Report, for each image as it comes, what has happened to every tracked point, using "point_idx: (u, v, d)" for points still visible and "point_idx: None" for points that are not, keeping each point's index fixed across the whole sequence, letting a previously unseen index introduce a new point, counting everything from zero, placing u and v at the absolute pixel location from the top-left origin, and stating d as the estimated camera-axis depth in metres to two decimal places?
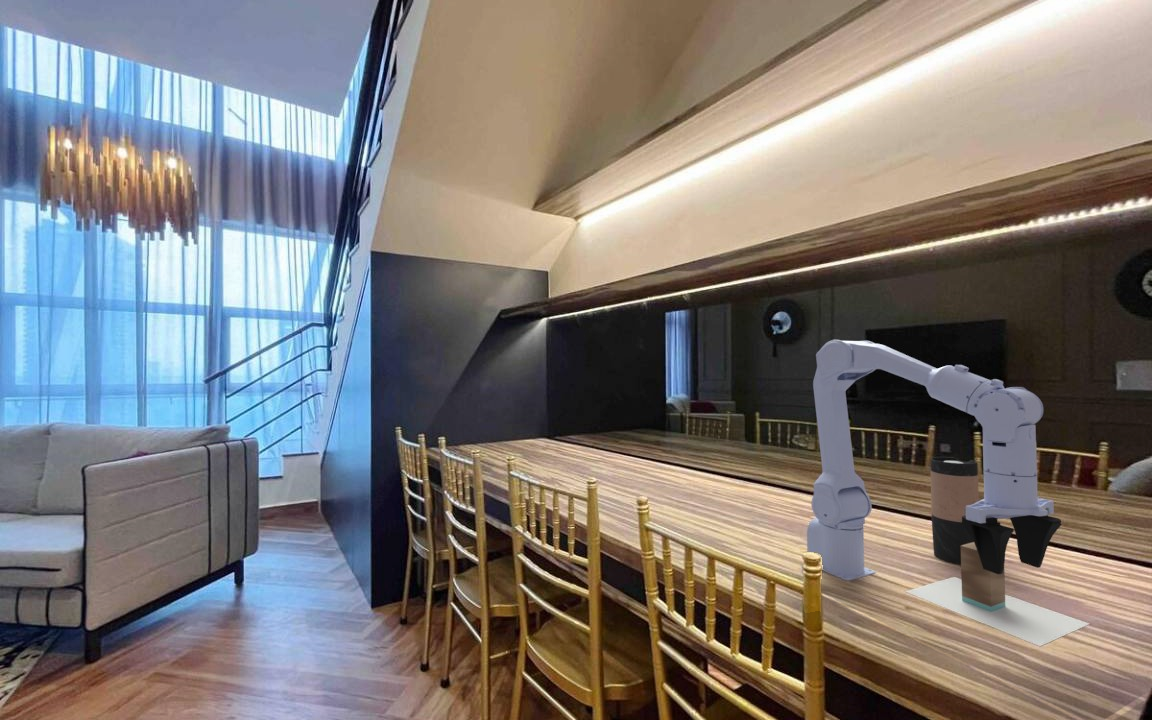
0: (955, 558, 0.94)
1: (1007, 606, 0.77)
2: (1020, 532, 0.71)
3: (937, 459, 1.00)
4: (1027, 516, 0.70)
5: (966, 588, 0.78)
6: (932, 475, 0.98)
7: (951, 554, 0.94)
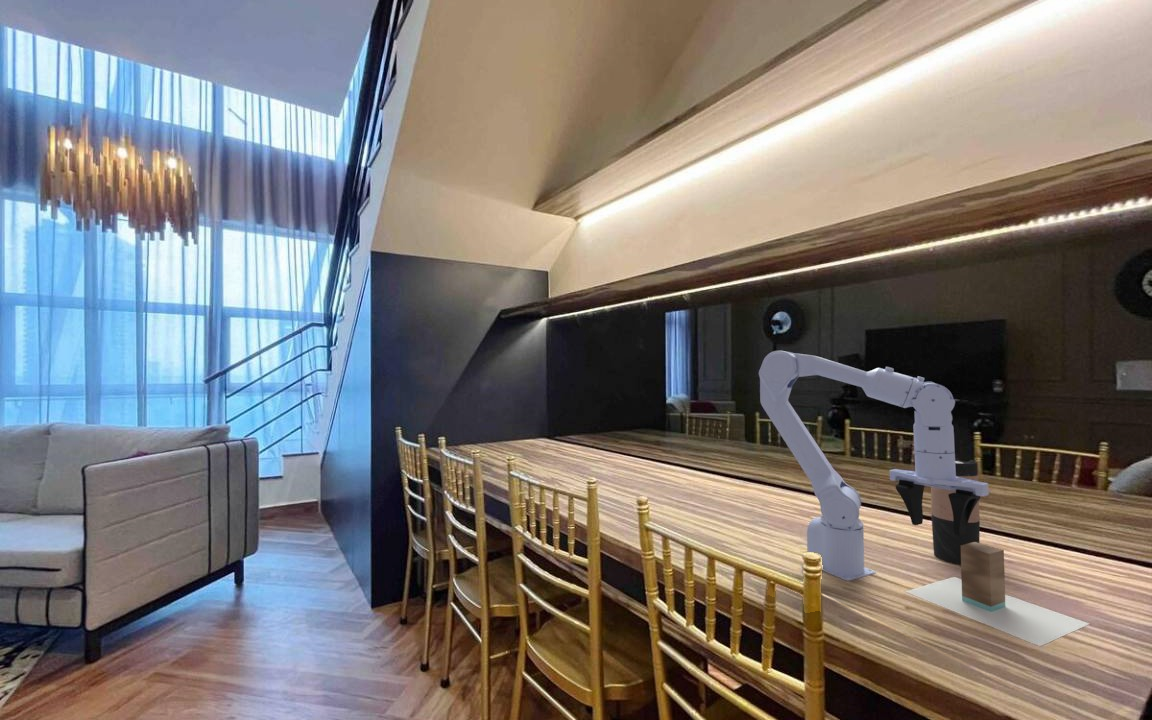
0: (955, 558, 0.94)
1: (1007, 606, 0.77)
2: None
3: None
4: None
5: (966, 588, 0.78)
6: None
7: (951, 554, 0.94)
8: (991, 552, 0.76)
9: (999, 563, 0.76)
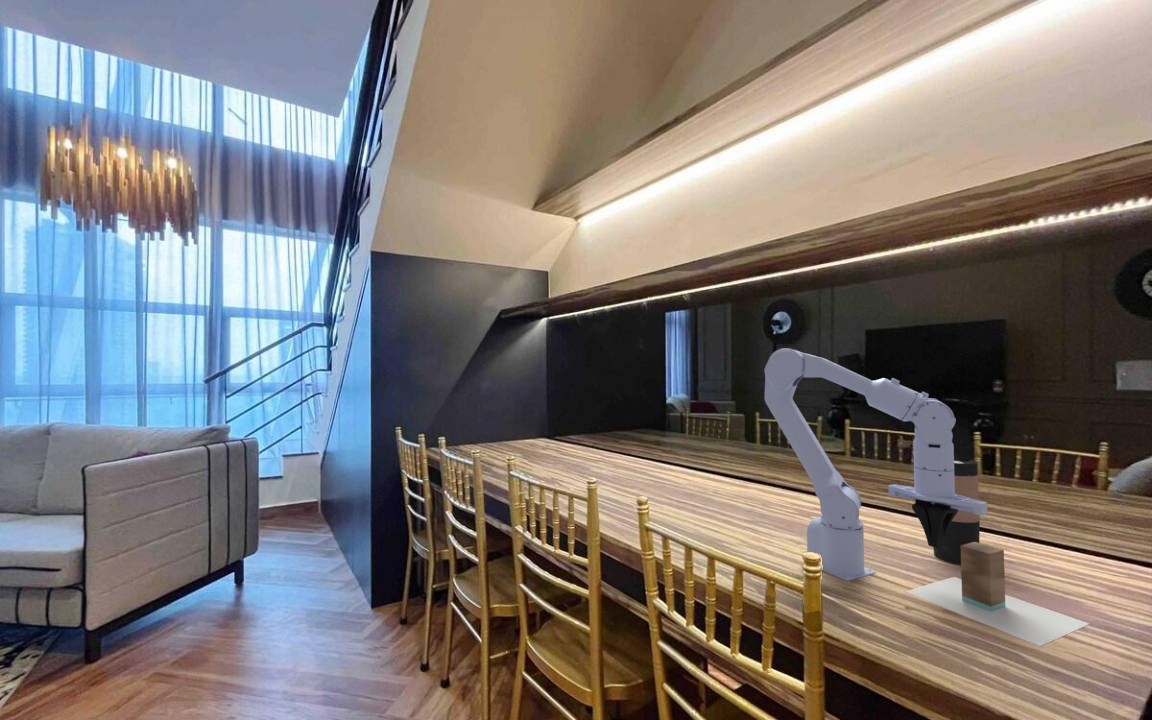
0: (955, 558, 0.94)
1: (1007, 606, 0.77)
2: None
3: None
4: None
5: (966, 588, 0.78)
6: None
7: (951, 554, 0.94)
8: (991, 552, 0.76)
9: (999, 563, 0.76)
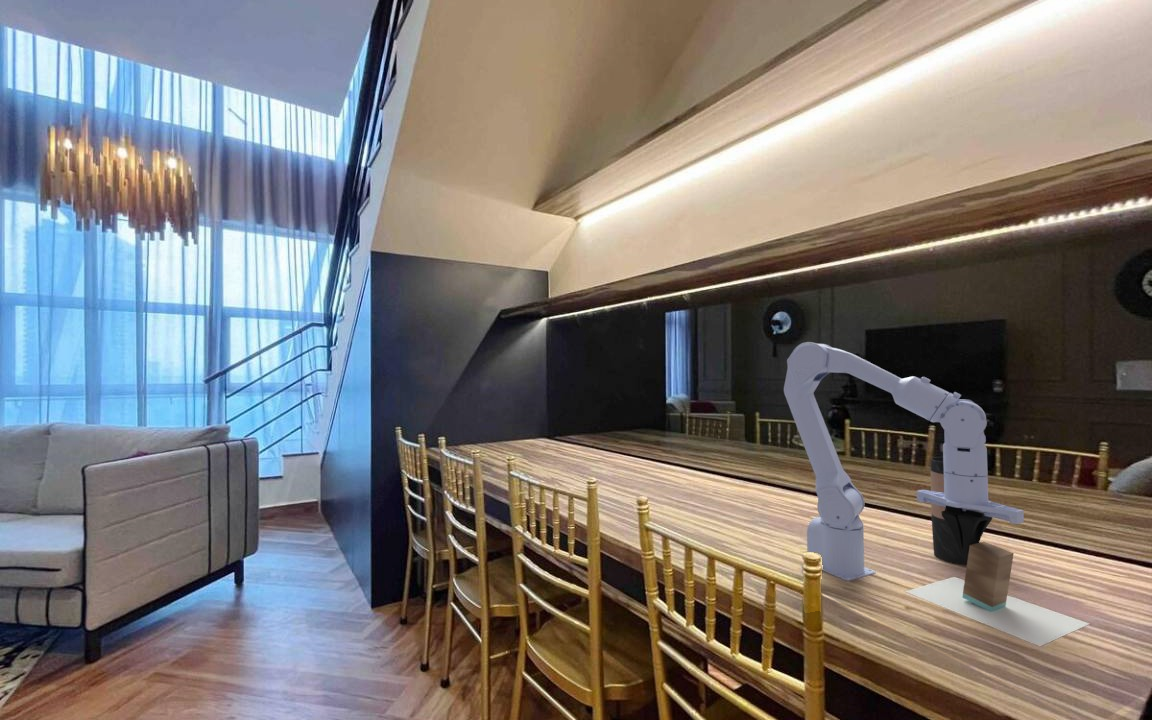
0: (955, 558, 0.94)
1: (1007, 606, 0.77)
2: None
3: (937, 459, 1.00)
4: None
5: (968, 586, 0.78)
6: (932, 475, 0.98)
7: (951, 554, 0.94)
8: (1001, 555, 0.75)
9: (1007, 566, 0.76)
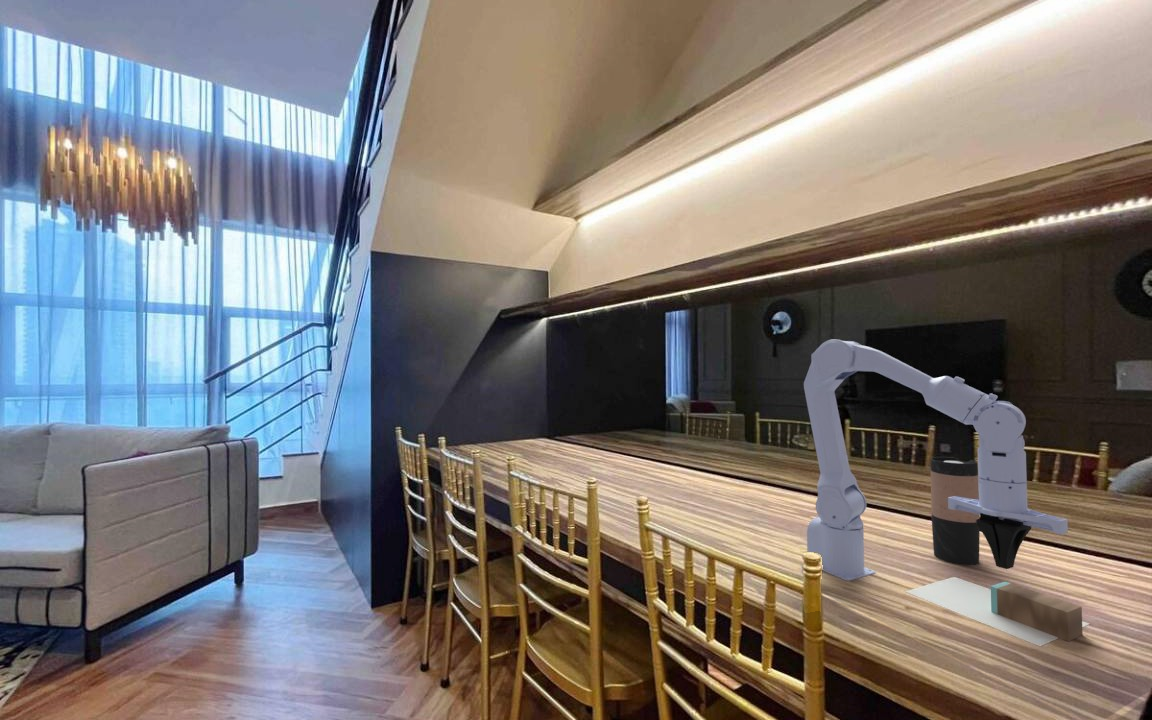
0: (955, 558, 0.94)
1: None
2: None
3: (937, 459, 1.00)
4: None
5: (1008, 596, 0.73)
6: (932, 475, 0.98)
7: (951, 554, 0.94)
8: (1072, 637, 0.67)
9: None
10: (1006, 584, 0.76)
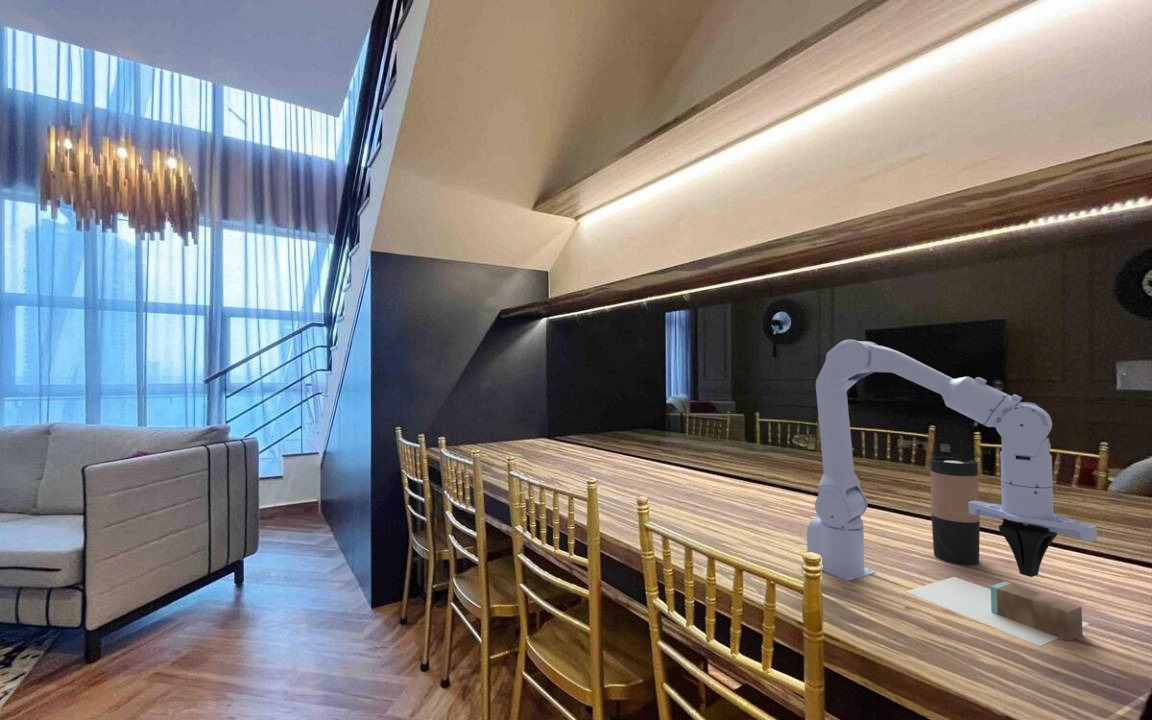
0: (955, 558, 0.94)
1: None
2: None
3: (937, 459, 1.00)
4: None
5: (1008, 596, 0.73)
6: (932, 475, 0.98)
7: (951, 554, 0.94)
8: (1072, 637, 0.67)
9: None
10: (1006, 584, 0.76)
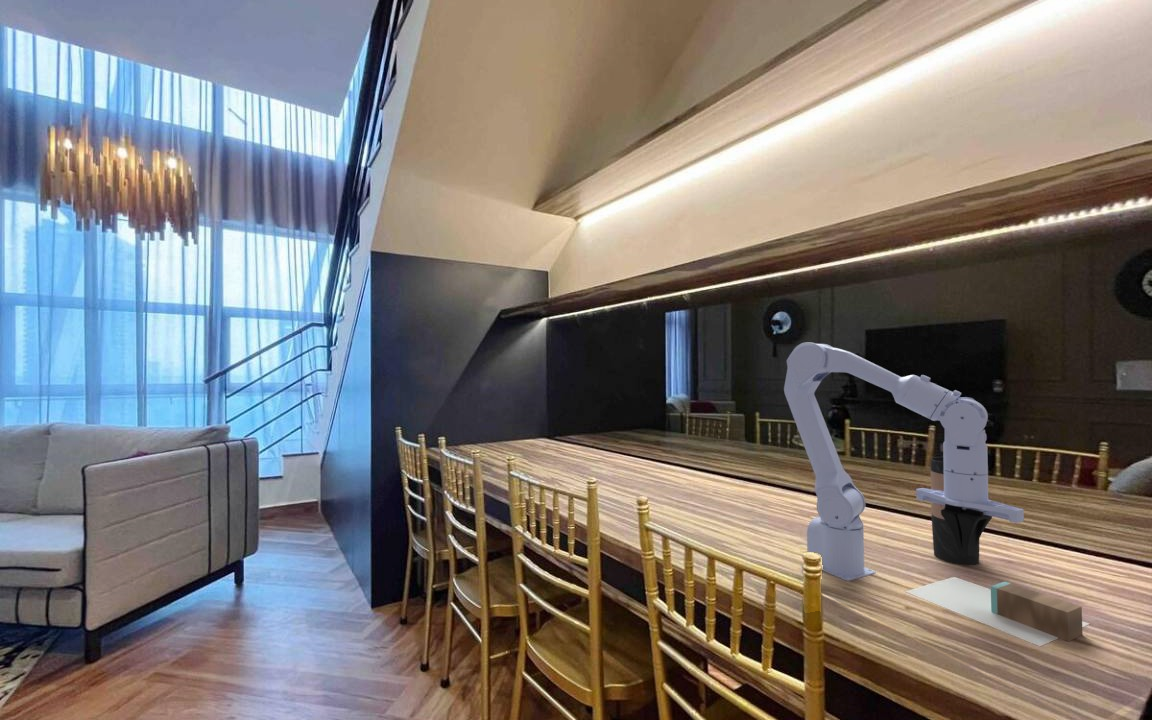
0: (955, 558, 0.94)
1: None
2: None
3: (937, 459, 1.00)
4: None
5: (1008, 596, 0.73)
6: (932, 475, 0.98)
7: (951, 554, 0.94)
8: (1072, 637, 0.67)
9: None
10: (1006, 584, 0.76)
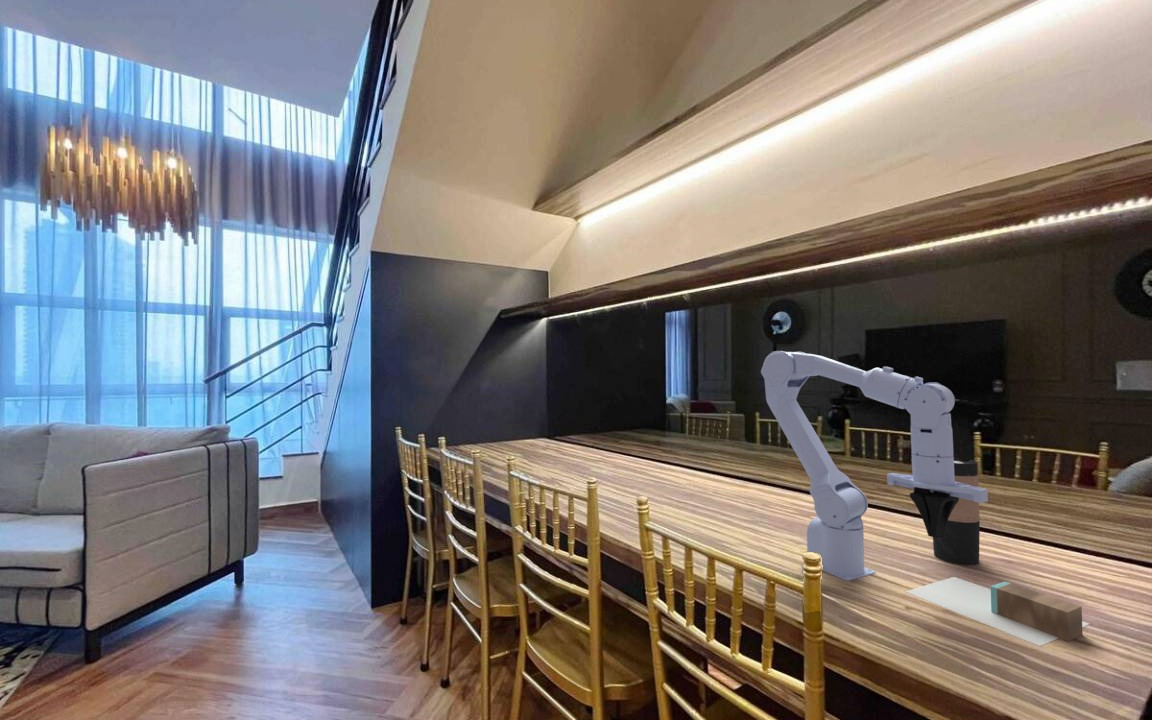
0: (955, 558, 0.94)
1: None
2: None
3: None
4: None
5: (1008, 596, 0.73)
6: None
7: (951, 554, 0.94)
8: (1072, 637, 0.67)
9: None
10: (1006, 584, 0.76)
